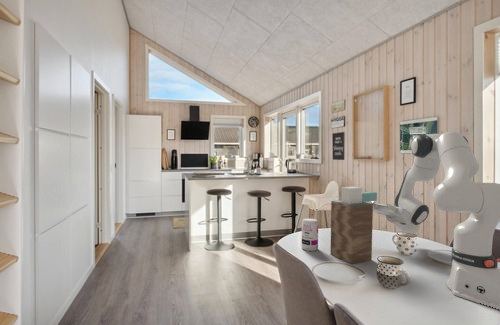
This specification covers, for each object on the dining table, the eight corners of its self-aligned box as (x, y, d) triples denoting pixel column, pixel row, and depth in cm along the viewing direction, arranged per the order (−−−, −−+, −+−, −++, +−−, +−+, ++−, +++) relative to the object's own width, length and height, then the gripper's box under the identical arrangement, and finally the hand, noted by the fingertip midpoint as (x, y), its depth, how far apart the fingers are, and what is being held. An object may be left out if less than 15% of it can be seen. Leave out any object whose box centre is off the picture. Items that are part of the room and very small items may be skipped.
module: (378, 201, 144) (378, 186, 144) (349, 203, 136) (349, 188, 135) (370, 199, 149) (370, 185, 148) (341, 202, 140) (341, 187, 140)
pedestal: (371, 260, 137) (372, 203, 136) (352, 264, 132) (353, 205, 131) (349, 250, 149) (350, 199, 149) (330, 254, 144) (331, 200, 143)
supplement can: (316, 246, 156) (317, 218, 155) (318, 251, 148) (319, 221, 147) (301, 245, 157) (301, 217, 156) (302, 251, 149) (302, 221, 148)
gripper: (381, 207, 163) (365, 195, 158) (416, 213, 145) (399, 201, 139) (376, 217, 162) (360, 206, 157) (411, 225, 144) (395, 213, 138)
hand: (379, 203), depth 148 cm, fingers open, 8 cm apart
